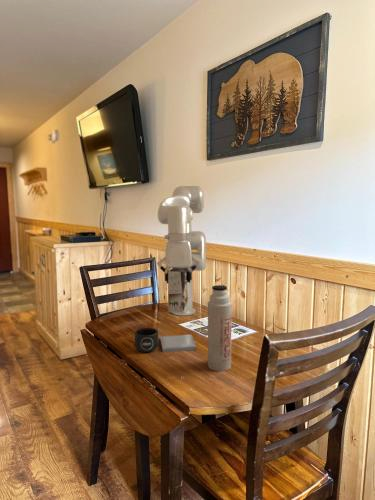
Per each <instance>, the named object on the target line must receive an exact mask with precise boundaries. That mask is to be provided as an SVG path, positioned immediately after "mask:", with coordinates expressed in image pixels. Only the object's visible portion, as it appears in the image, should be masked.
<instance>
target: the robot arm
mask: <svg viewBox="0 0 375 500" xmlns="http://www.w3.org/2000/svg"><path fill="white" fill-rule="evenodd" d="M204 196H205V195H204V191H203V189H202V188H201V187H200V186H198V185H180V186H177V187H175V189H174V190H173V192H172V196H170V197H168V198H166V199H163V200H162V201H160V203H159V205H158V210H157V219H158V222H159V223H160V224H161V225H167V234H166V235H163V236H164V240H165V239H166V240H167V241H166V244H165V252H164V257H162V258H161V259H160V260H159V261H157V262H156V264H157V266H158V267H159V269H160V270H161V271H162V272H163V273H164V281H165V282H166V284H167V285H168V271H170V270H171V269H172V268H187V269H188V272H187V281H188V307H187V309H186V310H185V312H184V313H179V312H171V313H172V315H176V316H191V315H194V314H195V313H196V309H195V308H194V307H193V277H192V276H193V271H194V272H195V271H196V272H197V271H198V272H200V271H205V269H206V267H207V240H206V234H205V233H204V232H203V231H199V230H197V231H195V230H193V231H192V220H193V217H194V214H200V213H202V212H203V211H204V206H205V204H204V202H205V197H204ZM193 250H194V251H193ZM192 251H193V252H192ZM163 263H164V264H165V267H164V266H163V265H162V264H163Z"/></svg>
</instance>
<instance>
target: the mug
mask: <svg viewBox="0 0 375 500" xmlns="http://www.w3.org/2000/svg"><path fill="white" fill-rule="evenodd" d="M158 346H159V331H158V329H156V328H153V327H141V328H138V329H136V330H134V347H135V349H136V351H139V352H142V353H150V352H152V351H155V350H156V349H157V348H158Z"/></svg>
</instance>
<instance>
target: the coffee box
mask: <svg viewBox="0 0 375 500" xmlns="http://www.w3.org/2000/svg"><path fill="white" fill-rule="evenodd" d="M187 272H188V269H187V268H170V269H169V271H168V284H167V285H168V288H167V291H168V294H167V295H168V297H167V298H168V303H167V304H168V306H167V307H168V311H167V312H168V313H172V312H179V313H184V312H185V310H186V309H187V307H188V281H187Z"/></svg>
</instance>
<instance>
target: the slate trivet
mask: <svg viewBox="0 0 375 500" xmlns="http://www.w3.org/2000/svg"><path fill="white" fill-rule="evenodd" d="M159 339H160V345H161V351H162V352H163V353H167V352H183V351H195V350H196V351H197V345H196V342H195V340H194V338H193V335H192V334H177V335H162V336H160V337H159Z"/></svg>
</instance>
